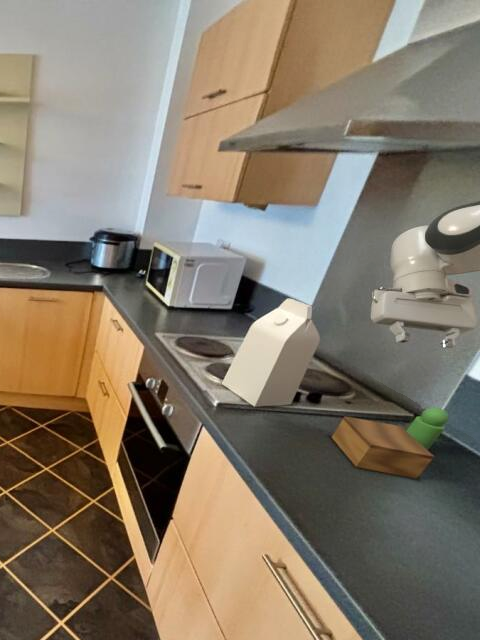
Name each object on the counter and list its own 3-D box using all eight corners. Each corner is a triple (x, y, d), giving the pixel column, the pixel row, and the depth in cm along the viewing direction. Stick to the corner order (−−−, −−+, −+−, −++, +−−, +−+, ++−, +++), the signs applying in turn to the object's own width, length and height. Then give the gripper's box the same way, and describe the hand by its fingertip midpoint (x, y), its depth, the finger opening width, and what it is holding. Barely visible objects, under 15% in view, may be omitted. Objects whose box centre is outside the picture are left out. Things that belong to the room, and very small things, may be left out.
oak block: (385, 447, 95) (400, 426, 92) (416, 478, 86) (434, 456, 83) (331, 437, 97) (344, 416, 94) (355, 466, 88) (371, 444, 85)
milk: (290, 404, 109) (341, 311, 96) (254, 406, 107) (301, 311, 94) (255, 381, 120) (297, 294, 107) (221, 383, 117) (260, 294, 104)
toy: (417, 443, 97) (445, 405, 92) (430, 455, 93) (461, 417, 88) (393, 438, 98) (420, 401, 93) (406, 450, 94) (435, 412, 89)
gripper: (383, 279, 98) (388, 333, 94) (481, 290, 95) (489, 345, 92) (361, 292, 104) (364, 343, 100) (452, 302, 101) (459, 355, 98)
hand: (425, 344), depth 96 cm, fingers open, 8 cm apart
